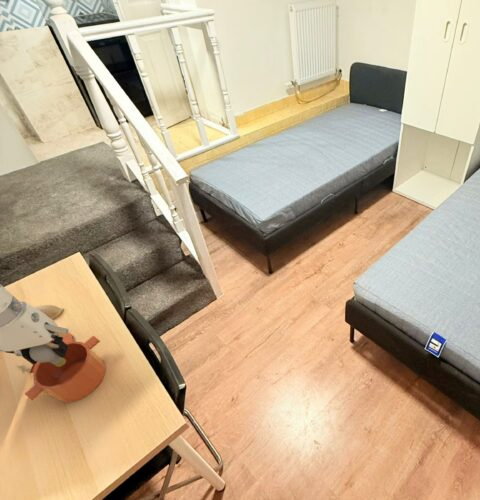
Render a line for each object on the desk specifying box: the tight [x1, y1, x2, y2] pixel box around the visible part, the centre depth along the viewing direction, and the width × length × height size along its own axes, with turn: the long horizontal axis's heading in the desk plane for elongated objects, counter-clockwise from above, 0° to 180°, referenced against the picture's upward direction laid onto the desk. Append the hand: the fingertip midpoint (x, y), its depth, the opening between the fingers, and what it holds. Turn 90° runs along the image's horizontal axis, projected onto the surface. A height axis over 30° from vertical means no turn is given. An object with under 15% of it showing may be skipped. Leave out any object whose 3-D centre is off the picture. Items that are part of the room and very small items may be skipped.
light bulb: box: [29, 339, 66, 367], centre depth 80 cm, size 5×6×10 cm
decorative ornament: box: [34, 304, 64, 321], centre depth 102 cm, size 4×8×5 cm, turn 99°
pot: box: [24, 335, 106, 403], centre depth 86 cm, size 12×18×8 cm
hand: (50, 354), depth 80 cm, fingers closed on light bulb, 5 cm apart
